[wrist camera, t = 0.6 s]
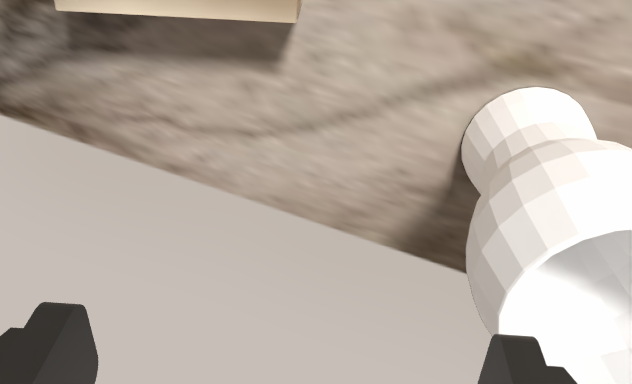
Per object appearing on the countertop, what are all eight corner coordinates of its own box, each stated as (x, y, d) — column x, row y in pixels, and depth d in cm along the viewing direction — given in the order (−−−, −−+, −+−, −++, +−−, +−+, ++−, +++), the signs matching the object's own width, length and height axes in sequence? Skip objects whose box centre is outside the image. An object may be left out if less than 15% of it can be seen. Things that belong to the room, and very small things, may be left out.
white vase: (650, 88, 34) (829, 247, 21) (564, 231, 39) (665, 425, 27) (476, 42, 33) (555, 179, 20) (414, 195, 38) (445, 377, 26)
